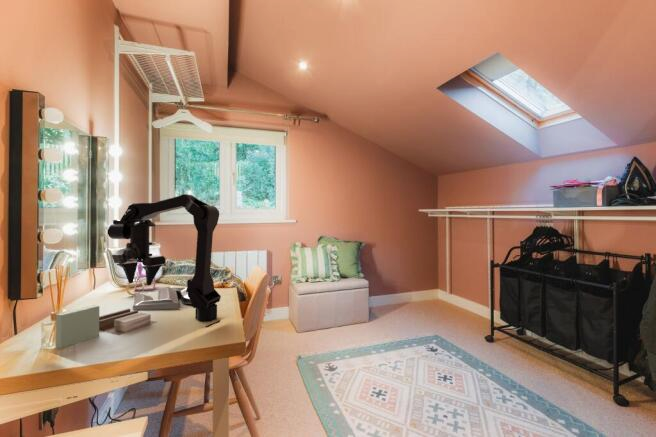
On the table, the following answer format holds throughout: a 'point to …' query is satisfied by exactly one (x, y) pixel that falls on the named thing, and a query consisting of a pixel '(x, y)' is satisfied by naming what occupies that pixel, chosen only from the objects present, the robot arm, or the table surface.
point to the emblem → (162, 299)
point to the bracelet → (132, 282)
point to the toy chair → (142, 274)
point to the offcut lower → (132, 326)
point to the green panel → (77, 325)
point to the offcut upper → (132, 319)
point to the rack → (108, 320)
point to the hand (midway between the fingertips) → (139, 284)
